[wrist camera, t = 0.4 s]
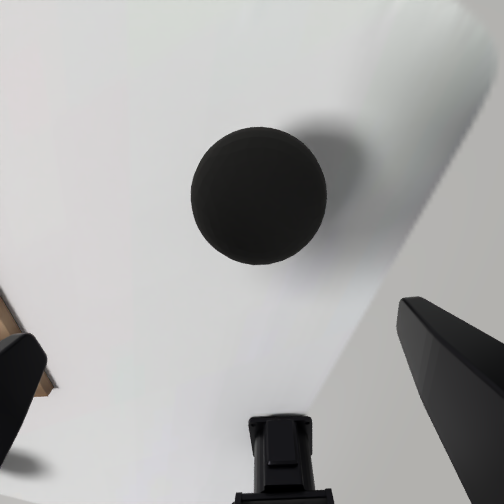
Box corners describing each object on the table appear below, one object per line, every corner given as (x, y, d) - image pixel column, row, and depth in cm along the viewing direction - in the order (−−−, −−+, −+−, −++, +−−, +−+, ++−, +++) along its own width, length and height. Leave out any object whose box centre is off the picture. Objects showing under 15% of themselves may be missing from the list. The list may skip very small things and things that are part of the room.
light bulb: (312, 193, 21) (351, 273, 12) (229, 215, 22) (209, 305, 13) (293, 99, 18) (325, 114, 9) (199, 129, 19) (148, 168, 10)
